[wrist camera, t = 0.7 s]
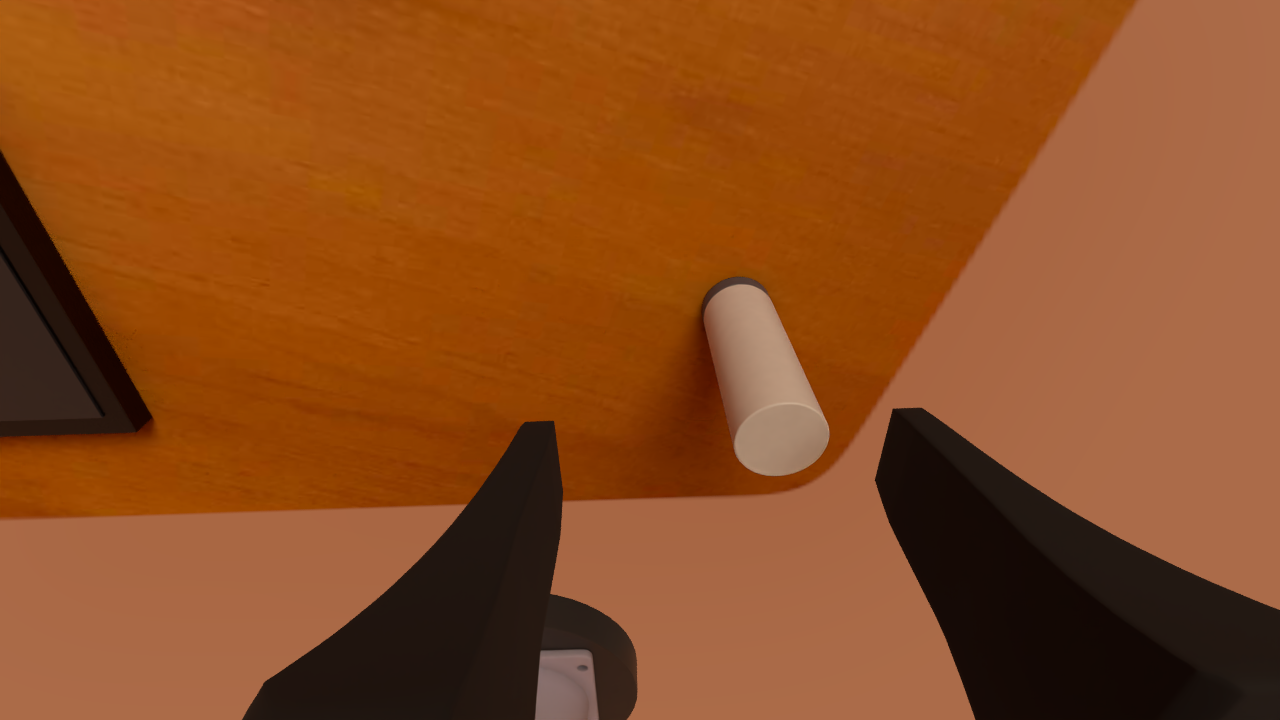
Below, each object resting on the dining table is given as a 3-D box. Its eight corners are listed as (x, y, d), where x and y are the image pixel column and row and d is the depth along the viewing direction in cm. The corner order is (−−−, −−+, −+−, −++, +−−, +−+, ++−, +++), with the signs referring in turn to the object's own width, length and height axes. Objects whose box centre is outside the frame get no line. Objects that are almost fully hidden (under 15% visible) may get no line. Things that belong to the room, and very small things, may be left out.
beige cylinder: (766, 336, 22) (822, 475, 16) (700, 338, 22) (731, 478, 16) (773, 275, 21) (836, 401, 15) (702, 277, 21) (737, 404, 15)
